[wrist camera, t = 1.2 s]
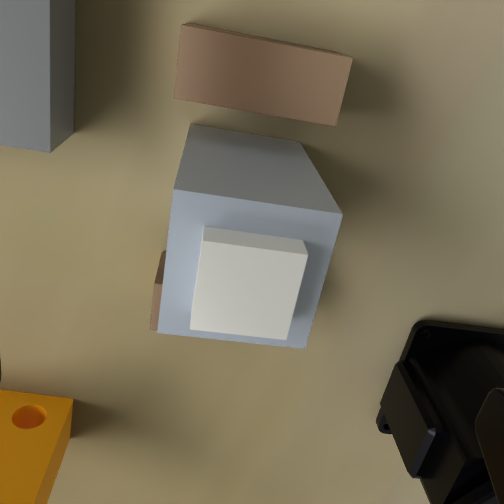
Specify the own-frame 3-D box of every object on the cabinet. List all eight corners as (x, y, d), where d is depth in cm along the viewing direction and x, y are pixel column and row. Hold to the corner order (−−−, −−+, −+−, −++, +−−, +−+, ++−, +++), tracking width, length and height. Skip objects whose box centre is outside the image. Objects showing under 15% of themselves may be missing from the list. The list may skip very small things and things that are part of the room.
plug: (299, 141, 18) (351, 228, 11) (277, 239, 19) (309, 368, 12) (190, 123, 17) (170, 201, 10) (178, 225, 19) (153, 352, 12)
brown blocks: (334, 51, 16) (353, 58, 14) (274, 308, 21) (280, 343, 19) (186, 22, 16) (181, 25, 13) (157, 294, 20) (149, 329, 18)
